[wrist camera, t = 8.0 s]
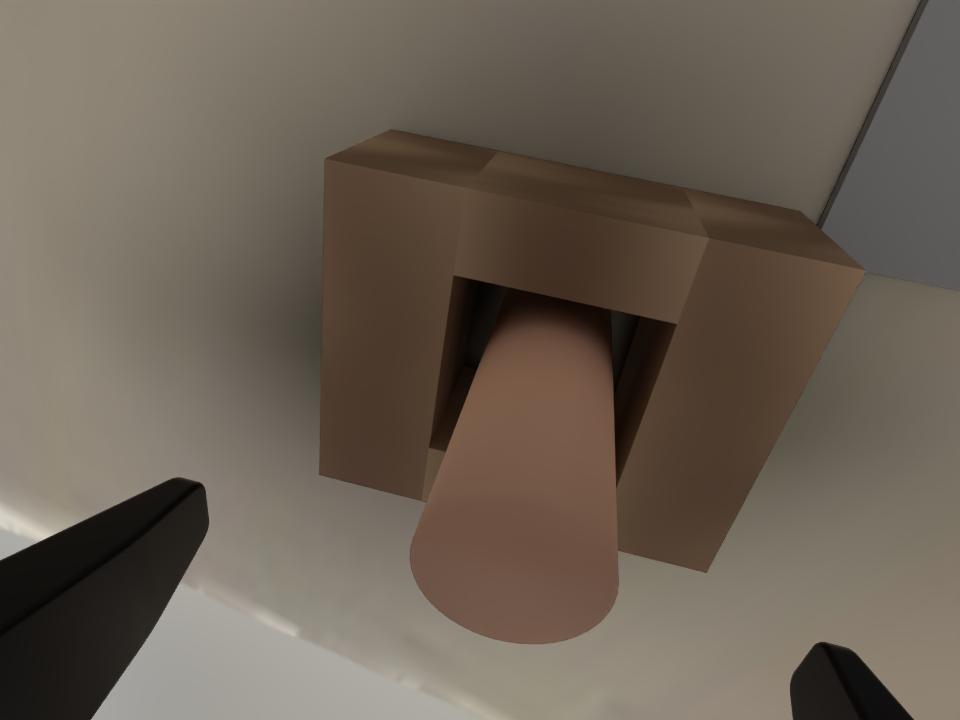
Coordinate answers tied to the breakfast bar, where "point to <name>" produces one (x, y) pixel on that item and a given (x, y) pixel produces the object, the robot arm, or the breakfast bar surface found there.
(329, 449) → the hole block
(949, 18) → the mat
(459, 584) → the peg
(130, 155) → the breakfast bar surface
